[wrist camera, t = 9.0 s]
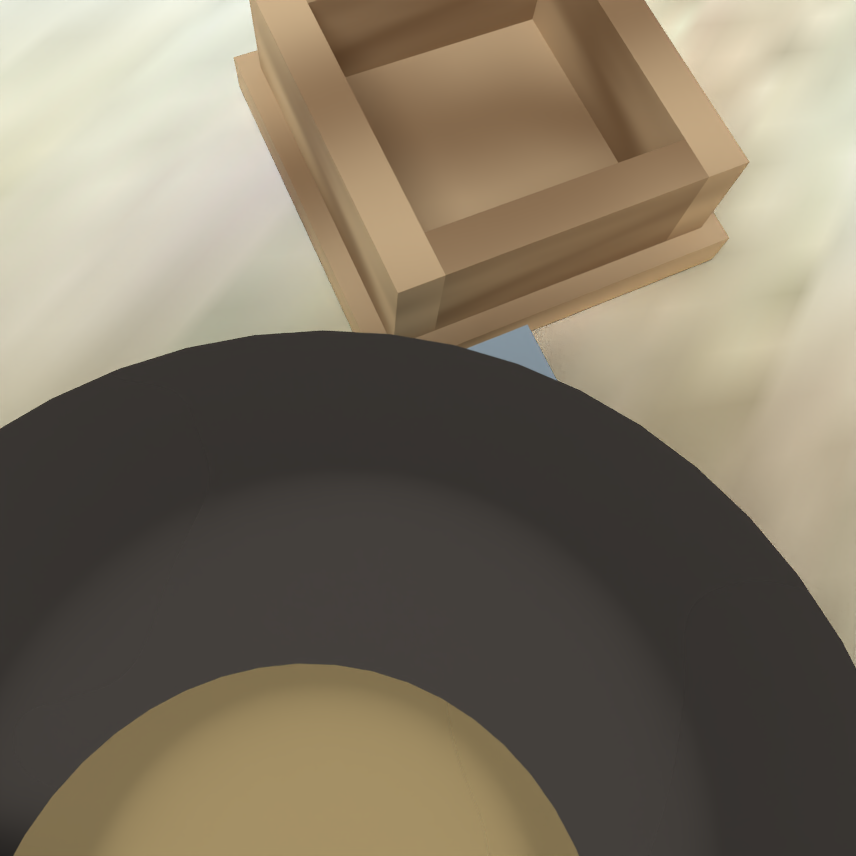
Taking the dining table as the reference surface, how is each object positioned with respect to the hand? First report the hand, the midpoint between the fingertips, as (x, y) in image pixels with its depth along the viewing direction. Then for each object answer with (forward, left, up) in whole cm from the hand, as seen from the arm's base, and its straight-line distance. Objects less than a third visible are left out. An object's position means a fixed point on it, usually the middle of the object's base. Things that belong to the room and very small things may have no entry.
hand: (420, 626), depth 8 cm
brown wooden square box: (+10, -7, -9) cm, 15 cm away
